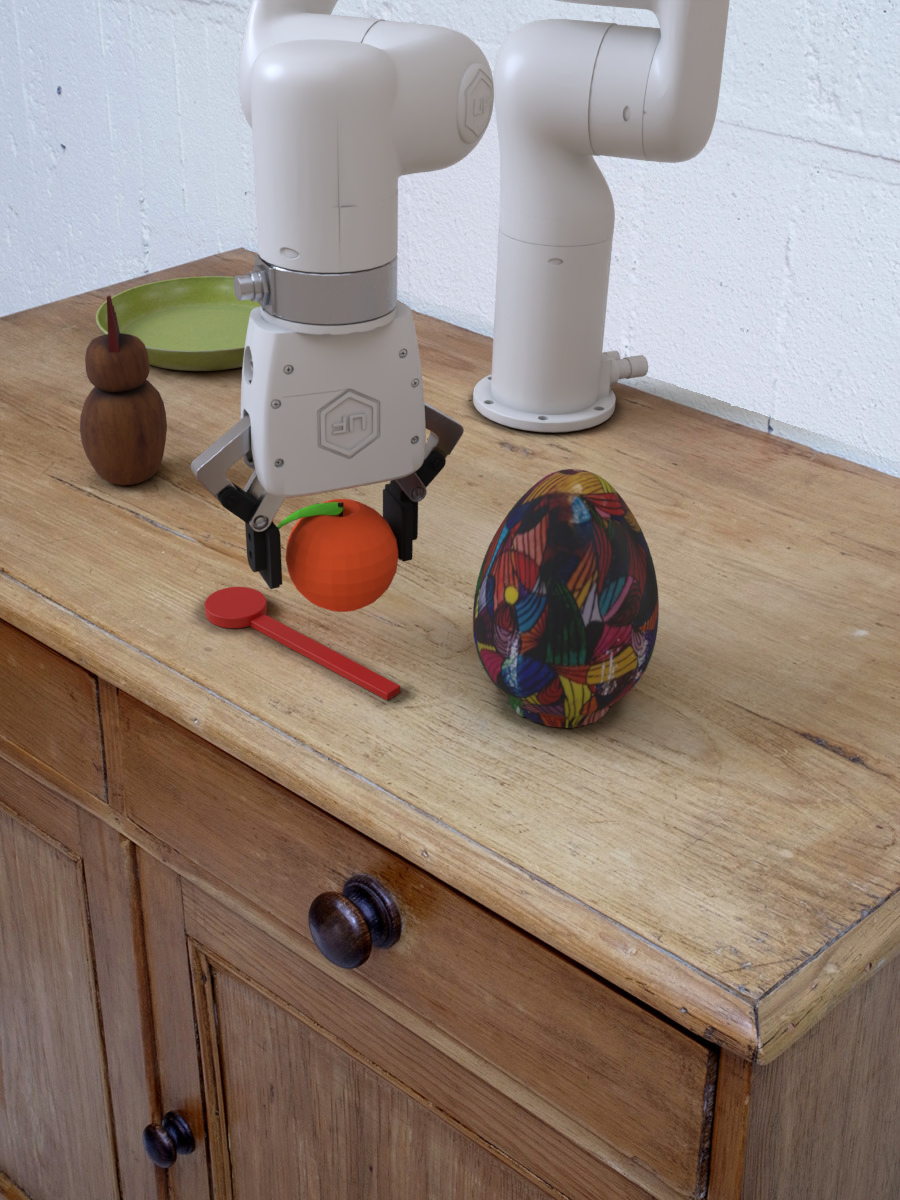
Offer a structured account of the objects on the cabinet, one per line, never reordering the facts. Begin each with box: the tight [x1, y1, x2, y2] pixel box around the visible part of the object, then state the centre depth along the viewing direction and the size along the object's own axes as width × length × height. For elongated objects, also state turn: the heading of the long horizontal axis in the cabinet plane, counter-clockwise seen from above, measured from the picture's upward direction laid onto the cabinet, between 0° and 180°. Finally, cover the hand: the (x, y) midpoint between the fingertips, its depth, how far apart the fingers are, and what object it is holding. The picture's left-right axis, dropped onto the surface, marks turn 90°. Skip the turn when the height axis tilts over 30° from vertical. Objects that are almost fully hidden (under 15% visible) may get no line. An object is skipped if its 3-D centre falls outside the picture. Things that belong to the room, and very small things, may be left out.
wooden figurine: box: [79, 295, 168, 486], centre depth 99 cm, size 7×6×15 cm
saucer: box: [95, 275, 261, 372], centre depth 127 cm, size 21×21×3 cm
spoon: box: [204, 586, 401, 701], centre depth 83 cm, size 16×4×1 cm, turn 50°
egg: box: [472, 468, 660, 729], centre depth 75 cm, size 11×11×15 cm
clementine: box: [276, 498, 399, 613], centre depth 81 cm, size 8×7×7 cm
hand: (334, 563), depth 81 cm, fingers closed on clementine, 8 cm apart
